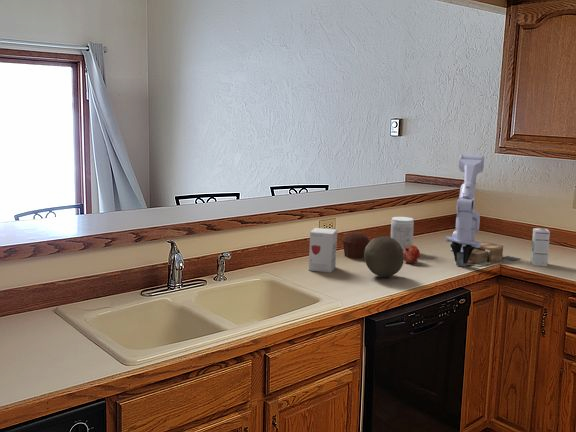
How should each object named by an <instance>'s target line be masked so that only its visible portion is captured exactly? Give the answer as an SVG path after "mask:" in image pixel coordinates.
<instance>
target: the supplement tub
mask: <svg viewBox="0 0 576 432" xmlns="http://www.w3.org/2000/svg"><path fill="white" fill-rule="evenodd" d="M390 223H391V224H390V238H393V239H394V240H396V241H397V242H398V243H399V244H400V246H401V248H402V250H404V248H405V247H408V246H409V245H413V244H414V242H413V239H414V229H415V228H414V224H415V222H414V218H413V217H410V216H393V217H392V218H391V222H390Z"/></svg>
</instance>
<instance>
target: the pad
mask: <svg viewBox="0 0 576 432" xmlns="http://www.w3.org/2000/svg"><path fill="white" fill-rule="evenodd" d="M490 264H491V263H490V262H489V261H485V262H482V263H478V264H475V263H473V264H470V266H475V267H479V268H480V267H483V266H487V265H490Z"/></svg>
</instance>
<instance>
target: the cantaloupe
mask: <svg viewBox="0 0 576 432" xmlns="http://www.w3.org/2000/svg"><path fill="white" fill-rule="evenodd" d="M369 241H370V242H369V243H368V245H367V246H366V248H365V252H364V258H363V259H364V262H365V264H366V266H367V268H368V269H369V271H370V272H371V273H373V275H375V276H377V277H380V278H390V277H392V276H395V275H396V274H397V273H399V271H401V269H402V267H403V266H404V263H405V261H404V253H403V250H402V248H401V246H400V244H399V243H398V242H397V241H396V240H394V239H393V238H391V236H378V237H374V238H373V239H371V240H369Z"/></svg>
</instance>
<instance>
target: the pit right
mask: <svg viewBox="0 0 576 432" xmlns="http://www.w3.org/2000/svg"><path fill="white" fill-rule="evenodd" d="M502 260H507V261H512V262H515V261H519V260H522V258H519V257H516V256H511V255H505V256H502Z"/></svg>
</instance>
